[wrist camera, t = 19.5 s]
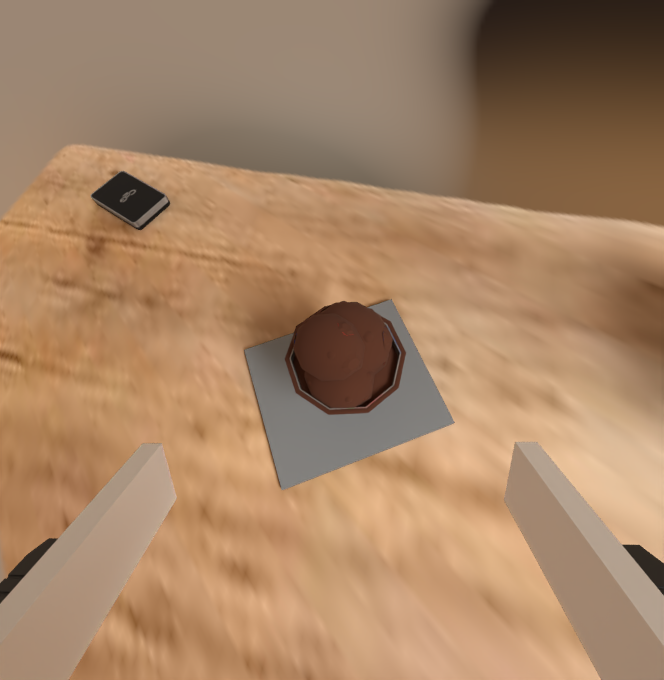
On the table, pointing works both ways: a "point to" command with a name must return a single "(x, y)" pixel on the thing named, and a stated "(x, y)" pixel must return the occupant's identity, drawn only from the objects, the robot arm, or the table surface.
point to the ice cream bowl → (345, 359)
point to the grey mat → (343, 429)
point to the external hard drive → (131, 199)
